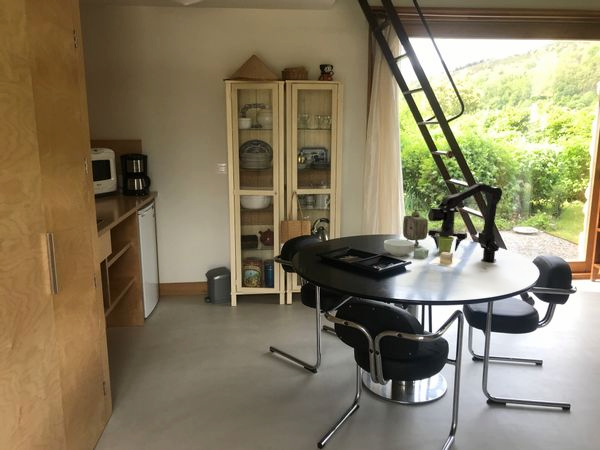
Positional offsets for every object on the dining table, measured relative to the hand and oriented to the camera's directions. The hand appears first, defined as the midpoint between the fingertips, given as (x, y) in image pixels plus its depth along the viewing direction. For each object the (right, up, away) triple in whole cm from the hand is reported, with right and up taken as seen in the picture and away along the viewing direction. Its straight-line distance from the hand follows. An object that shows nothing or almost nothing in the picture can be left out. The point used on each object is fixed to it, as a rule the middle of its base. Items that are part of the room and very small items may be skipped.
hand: (446, 250), depth 252 cm
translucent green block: (-10, -5, +14) cm, 17 cm away
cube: (0, -7, +1) cm, 7 cm away
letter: (0, -6, +4) cm, 7 cm away
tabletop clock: (-6, +1, +43) cm, 44 cm away
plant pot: (+6, -3, +24) cm, 25 cm away
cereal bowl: (-21, -4, +19) cm, 29 cm away
